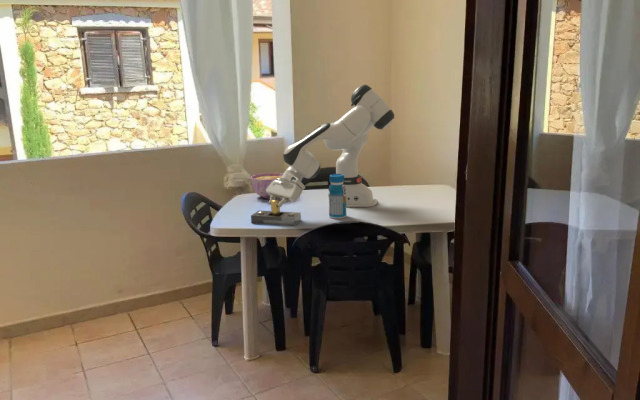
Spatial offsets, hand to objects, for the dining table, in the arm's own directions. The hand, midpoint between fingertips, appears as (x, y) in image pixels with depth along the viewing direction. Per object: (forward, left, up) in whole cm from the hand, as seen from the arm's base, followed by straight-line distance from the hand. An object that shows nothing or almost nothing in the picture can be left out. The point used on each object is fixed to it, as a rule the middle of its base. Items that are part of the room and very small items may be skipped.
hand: (274, 205), depth 238 cm
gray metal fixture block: (0, -1, -8) cm, 8 cm away
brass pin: (0, 0, -8) cm, 8 cm away
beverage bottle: (-26, -14, -8) cm, 31 cm away
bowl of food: (+22, -47, -8) cm, 52 cm away
